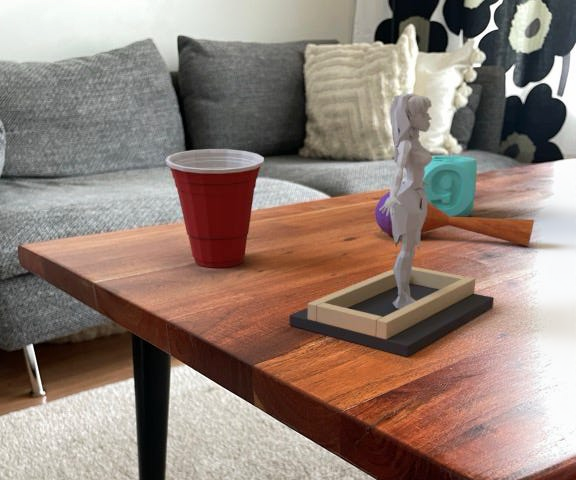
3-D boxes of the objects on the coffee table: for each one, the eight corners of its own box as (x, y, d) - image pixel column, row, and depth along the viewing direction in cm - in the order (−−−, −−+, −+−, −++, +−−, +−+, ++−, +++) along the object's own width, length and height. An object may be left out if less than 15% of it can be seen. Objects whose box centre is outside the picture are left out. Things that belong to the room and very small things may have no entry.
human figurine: (404, 329, 60) (420, 97, 53) (361, 323, 61) (370, 96, 54) (434, 290, 70) (451, 90, 63) (396, 285, 71) (408, 90, 64)
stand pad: (492, 307, 68) (496, 282, 67) (407, 357, 57) (409, 327, 56) (384, 284, 75) (386, 261, 74) (289, 325, 64) (289, 298, 63)
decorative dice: (469, 209, 112) (474, 156, 109) (472, 219, 105) (478, 162, 102) (417, 207, 114) (421, 155, 110) (417, 217, 107) (421, 161, 103)
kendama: (533, 219, 86) (371, 196, 92) (523, 264, 89) (368, 239, 95) (538, 201, 90) (384, 180, 96) (528, 245, 94) (380, 222, 100)
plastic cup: (175, 277, 78) (167, 162, 73) (169, 253, 88) (162, 150, 83) (274, 271, 80) (272, 159, 75) (257, 248, 90) (255, 147, 85)
